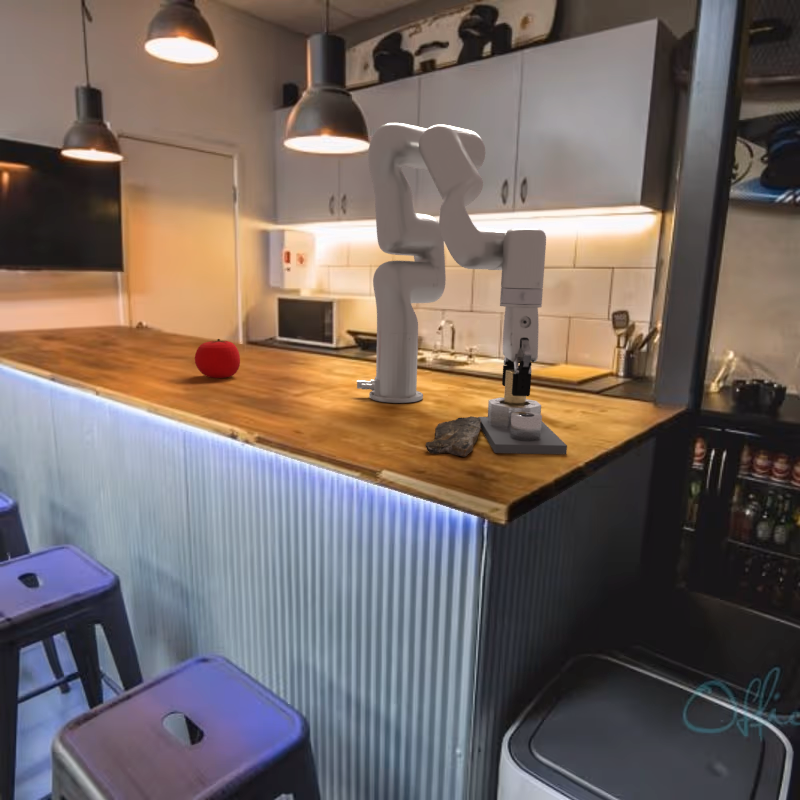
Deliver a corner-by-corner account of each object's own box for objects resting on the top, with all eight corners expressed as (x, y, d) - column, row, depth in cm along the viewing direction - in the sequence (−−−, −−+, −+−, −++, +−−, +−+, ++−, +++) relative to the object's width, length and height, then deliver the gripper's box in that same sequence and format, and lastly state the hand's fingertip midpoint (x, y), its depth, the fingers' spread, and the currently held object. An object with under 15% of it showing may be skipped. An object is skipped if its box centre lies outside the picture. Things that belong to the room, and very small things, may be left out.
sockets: (501, 440, 105) (502, 417, 104) (485, 417, 122) (486, 396, 121) (555, 441, 105) (557, 418, 104) (532, 417, 122) (533, 397, 121)
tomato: (234, 381, 162) (232, 342, 160) (189, 380, 162) (188, 340, 160) (245, 374, 174) (244, 337, 172) (204, 373, 174) (203, 336, 172)
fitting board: (494, 453, 103) (495, 444, 102) (477, 424, 122) (478, 416, 122) (566, 454, 103) (567, 445, 103) (538, 425, 123) (538, 417, 122)
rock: (442, 424, 121) (442, 411, 121) (482, 428, 120) (483, 414, 119) (424, 458, 101) (425, 442, 100) (472, 462, 100) (473, 447, 99)
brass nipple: (526, 425, 116) (529, 372, 113) (504, 425, 115) (508, 372, 113) (521, 420, 119) (525, 368, 117) (500, 420, 119) (504, 368, 117)
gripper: (553, 301, 104) (546, 400, 108) (530, 297, 121) (525, 383, 125) (509, 300, 104) (503, 399, 108) (492, 296, 121) (488, 382, 125)
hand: (515, 390), depth 116 cm, fingers open, 9 cm apart
